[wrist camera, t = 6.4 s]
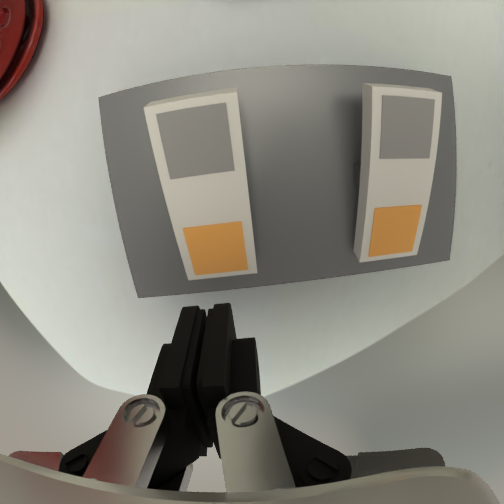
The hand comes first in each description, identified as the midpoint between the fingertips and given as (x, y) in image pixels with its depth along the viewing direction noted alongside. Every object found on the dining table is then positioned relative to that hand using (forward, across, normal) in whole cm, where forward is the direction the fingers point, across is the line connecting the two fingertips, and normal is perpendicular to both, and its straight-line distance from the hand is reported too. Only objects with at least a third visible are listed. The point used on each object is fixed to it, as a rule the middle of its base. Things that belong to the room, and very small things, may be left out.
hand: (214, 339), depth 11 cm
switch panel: (+12, -5, -4) cm, 13 cm away
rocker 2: (+6, -10, -4) cm, 12 cm away
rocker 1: (+6, 0, -4) cm, 7 cm away
